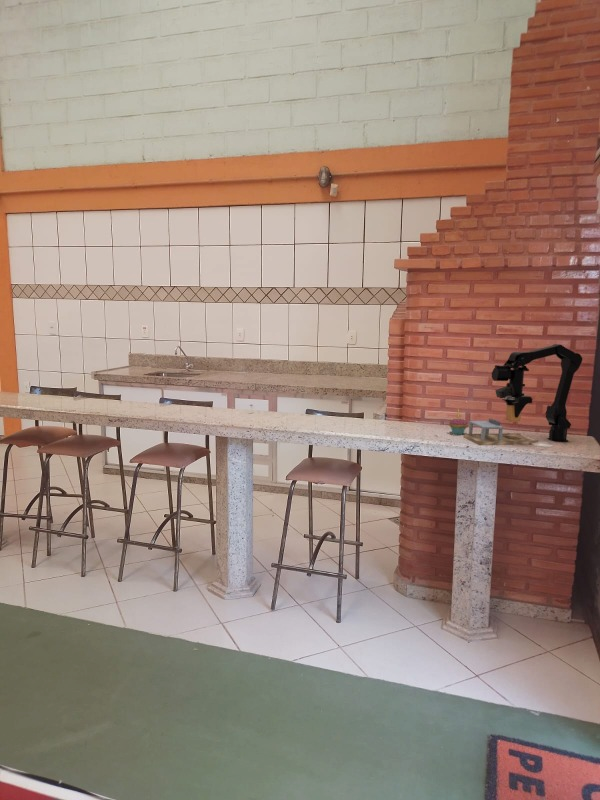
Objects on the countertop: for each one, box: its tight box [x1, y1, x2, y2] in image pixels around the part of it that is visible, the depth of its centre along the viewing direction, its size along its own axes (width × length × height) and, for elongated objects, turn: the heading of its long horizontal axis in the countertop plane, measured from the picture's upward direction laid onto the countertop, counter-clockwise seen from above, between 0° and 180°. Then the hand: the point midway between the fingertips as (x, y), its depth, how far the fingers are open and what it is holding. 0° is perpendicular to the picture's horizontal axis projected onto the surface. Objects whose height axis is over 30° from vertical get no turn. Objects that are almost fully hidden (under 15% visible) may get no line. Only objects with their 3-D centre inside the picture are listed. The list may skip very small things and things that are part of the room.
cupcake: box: [448, 407, 469, 436], centre depth 265 cm, size 9×8×12 cm
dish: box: [530, 440, 555, 448], centre depth 245 cm, size 9×9×1 cm
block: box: [505, 404, 522, 422], centre depth 251 cm, size 4×4×6 cm
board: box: [462, 432, 539, 446], centre depth 252 cm, size 27×16×2 cm, turn 98°
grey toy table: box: [468, 418, 504, 441], centre depth 250 cm, size 9×14×8 cm, turn 8°
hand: (513, 416), depth 251 cm, fingers closed on block, 4 cm apart
